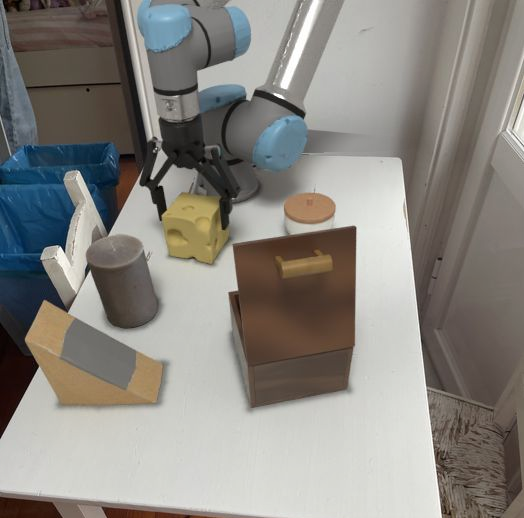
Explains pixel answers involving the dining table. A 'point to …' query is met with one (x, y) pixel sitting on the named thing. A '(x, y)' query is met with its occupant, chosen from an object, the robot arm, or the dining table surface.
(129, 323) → the pillar candle
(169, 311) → the dining table surface
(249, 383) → the bread box
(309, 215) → the trinket box
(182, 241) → the cheese
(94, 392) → the sandwich container
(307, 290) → the lid
